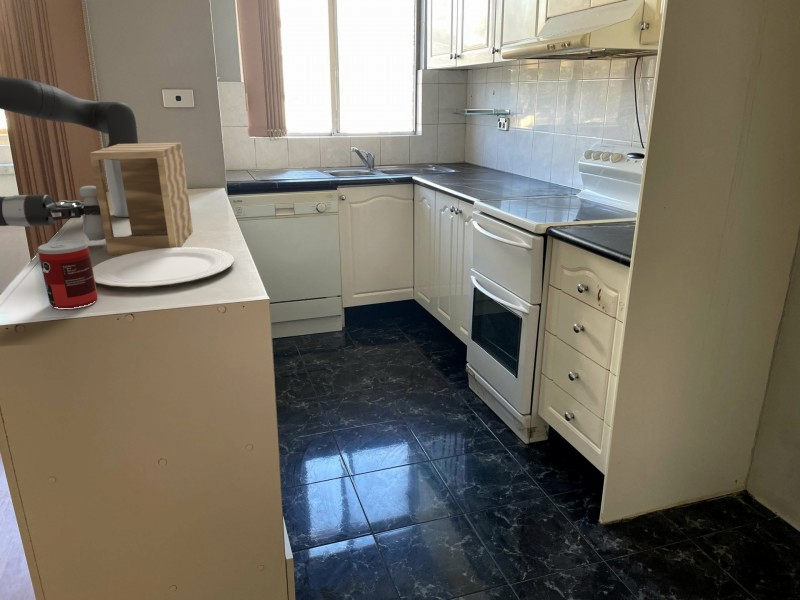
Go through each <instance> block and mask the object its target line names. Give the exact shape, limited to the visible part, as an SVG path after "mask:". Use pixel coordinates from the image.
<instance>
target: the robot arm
mask: <svg viewBox="0 0 800 600" xmlns="http://www.w3.org/2000/svg"><path fill="white" fill-rule="evenodd" d="M0 109H1V110H2V111H3V110H4V111H7V112H10V113H15V114H19V115H23V116H26V117H31V118H36V119H39V120H44V121H45V120H47V121H51V122H58V123H67V124H74V125H78V126H81V127H82V126H83V127H84V128H85V127H86V128H89V129H91V130H94V131H97V132H100V133H103V134H106V135H108V144H107V146H105V147H104V148H107V147H111V146H114V145H117V144H139V140H138V139H139V137H138V129H137V128H138V127H137V122H136V121H137V120H136V117H135V113H134V110H133V109H132V108H131V107H130V106H129V105H128V104H127V103H125V102H122V101H98V100H97V101H96V100H90V99H84V98H81V97H77V96H75V95H72V94H71V93H68V92H67V91H65V90H63V89H62V88H59V87H56V86H54V85H50V84H48V83H44V82H39V81H36V80H32V79H28V78H19V77H11V76H9V77H8V76H0ZM103 160H104V167H105V171H106V177H107V182H108V188H109V194H110V200H111V206H112V207H111V208H112V212H113V216H114V217H117V218H129V216H128V210H127V204H126V198H125V192H124V186H123V180H122V174H121V168H120V162H119V159H103ZM86 214H87V215H90V214H92V215H101V212H100V207H99V205H92V206H85V205H84V199H70V200H67V199H66V200H65V199H62V200H59V201H58V202H57V201H56V202H55V201H54V199H53V197H52V196H51V195H49V194H47V193H46V194H16V195H8V196H0V227H47V226H53V225H54V223H55V222H56V221H59V220H69V219H70V220H71V219H80V218H81V217H83V216H86Z"/></svg>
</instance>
